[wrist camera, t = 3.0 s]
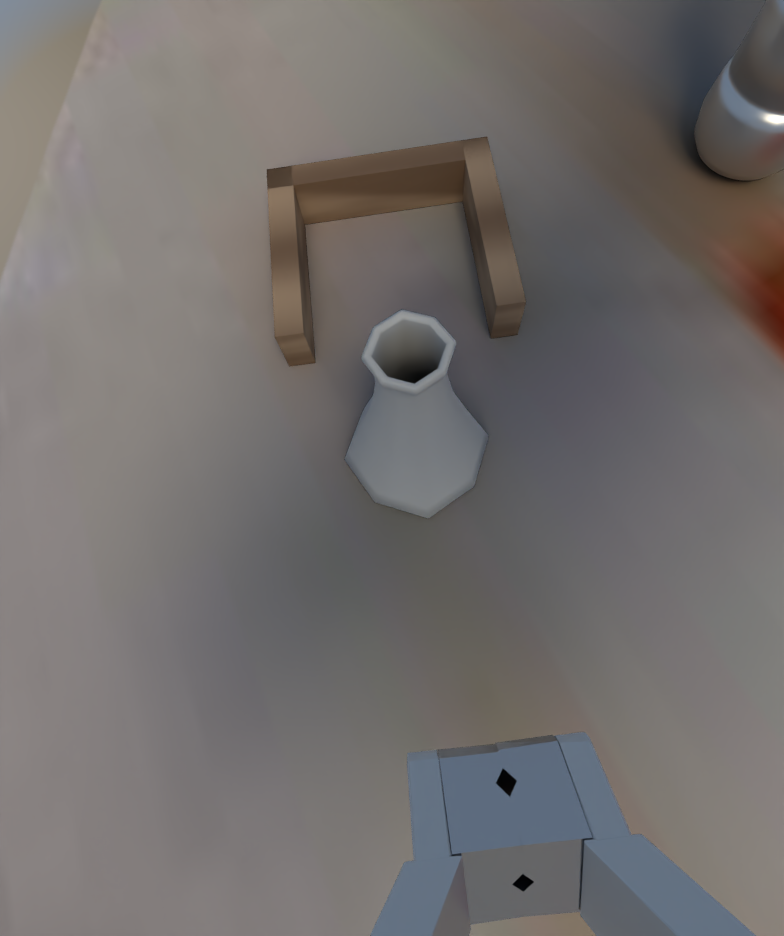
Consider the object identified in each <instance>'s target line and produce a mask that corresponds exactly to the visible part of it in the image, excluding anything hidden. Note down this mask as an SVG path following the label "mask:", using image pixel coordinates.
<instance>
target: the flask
mask: <svg viewBox="0 0 784 936" xmlns="http://www.w3.org/2000/svg"><path fill="white" fill-rule="evenodd" d="M455 347H456V341H455V340H454V338H453V337H452V336H451V335H450V334H449V333H448V332H447V330H446V329H445V328H444V327H443V326H442V325H441V324H440V322H439V321H438V320H437V319H436V318H435V317H432V316H428V315H424V314H420V313H415V312H411V311H407V310H403V309H401V310H400V311H398V312H396V313H395V314H393V315H392V316H390V317H388V318H387V319H385V320H384V321H382V322H381V323H379V324H377V325H376V326H374V327H373V329H372V331H371V334H370V336H369V339H368V341H367V344H366V346H365V349H364V351H363V354H362V361H363V362H364V364H365V365H366V366H367V367H368V369H369V370H370V371H371V373H372V374H373V375H374V379H375V388H374V394H373V396H372V397H371V399H370V400H369V402H368V403H367V405H366V406H365V408H364V410H363V412H362V414H361V417H360V419H359V422H358V425H357V427H356V430H355V433H354V435H353V438H352V441H351V443H350V446H349V448H348V451H347V454H346V456H345V459H344V460H345V461H346V463H347V464H348V465H349V467H350V468H351V470H352V471H353V472H354V474H355V475H356V477H357V478H358V480H359V481H360V482H361V484H362V485H363V487H364V488H365V489H366V491H367V492H368V494H369V495H370V496H371V498H372V499H373V501H374V502H376V503H379V504H382V505H386V506H389V507H392V508H395V509H399V510H402V511H405V512H408V513H412V514H415V515H418V516H422V517H425V518H428V519H429V518H430V517H431V516H433V515H434V514H436V513H437V512H438V511H440V510H441V509H443V508H444V507H446V506H447V505H448V504H450V503H451V502H453V501H454V500H456V499H457V498H458V497H460V496H461V495H463V494H464V493H466V492H467V491H468V490H470V489H471V488H473V487H474V485H475V482H476V478H477V475H478V472H479V468H480V465H481V462H482V458H483V455H484V451H485V448H486V445H487V441H488V438H489V436H488V435H487V433H486V432H485V431H484V429H483V428H482V427H481V426H480V425H479V423H478V422H477V421H476V420H475V419H474V417H473V416H472V415H471V414H470V413H469V411H468V410H467V409H466V408H465V407H464V405H463V404H462V402H461V401H460V400H459V398H458V397H457V396H456V394H455V393H454V392H453V389H452V386H451V383H450V380H449V377H448V374H447V371H448V368H449V365H450V362H451V359H452V356H453V353H454V350H455Z"/></svg>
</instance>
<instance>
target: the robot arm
mask: <svg viewBox="0 0 784 936" xmlns="http://www.w3.org/2000/svg"><path fill="white" fill-rule="evenodd" d="M438 755H439V759H438ZM439 764H440V766H439ZM407 770H408V784H409V798H410V812H411V827H412V841H413V855H414V860H413V861H407V862H404V864H403V866H402V869H401V871H400V873H399V875H398V877H397V879H396V881H395V884H394V886H393V888H392V890H391V892H390V894H389V896H388V898H387V901H386V903H385V905H384V907H383V909H382V911H381V913H380V916H379V918H378V920H377V922H376V924H375V926H374V928H373V931H372V933H371V935H370V936H469V933H470V930H471V928H470V925H471V924H477V923H484V922H491V921H497V920H504V919H511V918H517V917H525V916H536V915H548V914H560V913H572V912H580V916H581V917H582V918H583V919H584V921H585V922H586V923H587V924H588V926H589V927H590V928H591V929H592V931H593V932H594V933H595V934H596V936H756V935H755V934H754V933H752V932H751V931H750V930H749V929H748V928H747V927H746V926H745V925H743V924H742V923H741V922H740V921H739V920H738V919H737V918H736V917H734V916H733V915H732V914H731V913H730V912H729V911H728V910H727V909H725V908H724V907H723V906H722V905H721V904H720V903H719V902H718V901H716V900H715V899H714V898H713V897H712V896H711V895H710V894H708V893H707V892H706V891H705V890H704V889H703V888H702V887H701V886H699V885H698V884H697V883H696V882H695V881H694V880H693V879H692V878H690V877H689V876H688V875H687V874H686V873H685V872H684V871H683V870H681V869H680V868H679V867H678V866H677V865H676V864H675V863H674V862H672V861H671V860H670V859H669V858H668V857H667V856H666V855H665V854H663V853H662V852H661V851H660V850H659V849H658V848H657V847H656V846H654V845H653V844H652V843H651V842H650V841H649V840H648V839H647V838H645V837H644V836H643V835H642V834H633V835H631V832H630V830H629V828H628V825H627V823H626V821H625V818H624V816H623V814H622V811H621V809H620V807H619V804H618V802H617V800H616V798H615V795H614V793H613V791H612V788H611V786H610V784H609V781H608V779H607V777H606V774H605V772H604V770H603V767H602V765H601V763H600V760H599V758H598V756H597V753H596V751H595V749H594V746H593V744H592V742H591V740H590V738H589V737H588V735H587V734H586V733H585V732H577V733H570V734H563V735H557V736H553V735H548V736H541V737H533V738H526V739H519V740H512V741H505V742H498V743H495V744H489V745H480V746H470V747H460V748H450V749H441V750H438V753H437V750H429V751H421V752H413V753H408V757H407ZM440 771H441V774H440ZM441 779H442V781H441ZM442 787H443V788H442ZM443 794H444V795H443Z"/></svg>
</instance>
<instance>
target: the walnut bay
mask: <svg viewBox="0 0 784 936" xmlns="http://www.w3.org/2000/svg"><path fill="white" fill-rule="evenodd" d="M267 186H268V207H269V227H270V248H271V269H272V289H273V310H274V331H275V338H276V340H277V342H278V344H279V346H280V348H281V350H282V352H283V354H284V356H285V358H286V360H287V362H288V364H289V366H296V365H303V364H310V363H315V350H314V337H313V324H312V311H311V298H310V285H309V272H308V259H307V246H306V232H305V224H312V223H319V222H326V221H332V220H339V219H346V218H353V217H360V216H367V215H373V214H380V213H387V212H394V211H401V210H408V209H414V208H421V207H428V206H435V205H442V204H449V203H455V202H462V201H463V206H464V210H465V215H466V220H467V225H468V230H469V235H470V240H471V245H472V250H473V254H474V259H475V264H476V269H477V274H478V279H479V284H480V289H481V293H482V298H483V303H484V308H485V313H486V318H487V323H488V328H489V333H490V337H491V338H498V337H505V336H512V335H517V334H518V330H519V327H520V323H521V319H522V315H523V312H524V308H525V304H526V299H525V295H524V290H523V286H522V282H521V278H520V274H519V269H518V265H517V261H516V257H515V252H514V248H513V244H512V240H511V236H510V231H509V227H508V223H507V219H506V214H505V210H504V206H503V202H502V198H501V193H500V189H499V185H498V181H497V176H496V172H495V168H494V164H493V159H492V155H491V151H490V147H489V143H488V138H487V137H481V138H474V139H468V140H461V141H454V142H448V143H441V144H434V145H428V146H421V147H414V148H408V149H401V150H394V151H388V152H381V153H374V154H368V155H361V156H354V157H348V158H341V159H334V160H328V161H321V162H314V163H307V164H301V165H294V166H287V167H281V168H274V169H267Z"/></svg>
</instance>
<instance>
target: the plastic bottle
mask: <svg viewBox="0 0 784 936" xmlns="http://www.w3.org/2000/svg"><path fill="white" fill-rule="evenodd" d="M694 136H695V141H696V146H697V151H698V154H699V156H700V158H701V159H702V161H703V162H704V163H705V164H706V165H707V166H708V167H709V168H710V169H711V170H713V171H714V172H716V173H718V174H720V175H722V176H725V177H727V178H731V179H735V180H744V181H747V180H757V179H761V178H764V177H767V176H769V175H772V174H774V173H776V172H779V171H781V170H783V169H784V0H766V2H765V4H764V6H763V7H762V9H761V11H760V12H759V14H758V16H757V17H756V19H755V21H754V22H753V24H752V26H751V28H750V29H749V31H748V33H747V34H746V36H745V38H744V39H743V41H742V43H741V44H740V46H739V48H738V49H737V51H736V53H735V54H734V55H733V56H732V58H731V59H730V60H729V62H728V63H727V64H726V66H725V67H724V68H723V70H722V71H721V73H720V74H719V76H718V77H717V79H716V81H715V82H714V84H713V85H712V87H711V88H710V90H709V92H708V93H707V95H706V96H705V98H704V100H703V104H702V107H701V110H700V113H699V116H698V119H697V123H696V126H695V135H694Z"/></svg>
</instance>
